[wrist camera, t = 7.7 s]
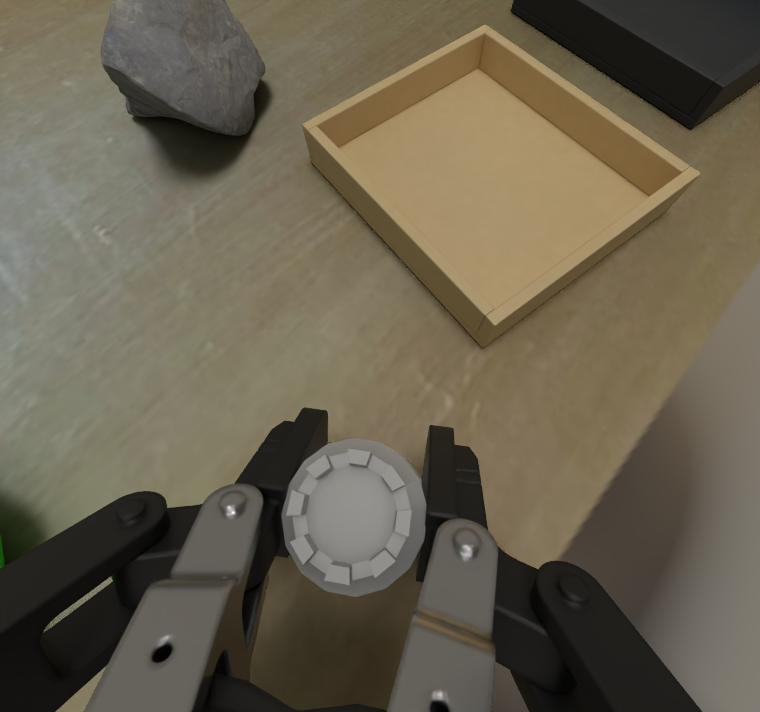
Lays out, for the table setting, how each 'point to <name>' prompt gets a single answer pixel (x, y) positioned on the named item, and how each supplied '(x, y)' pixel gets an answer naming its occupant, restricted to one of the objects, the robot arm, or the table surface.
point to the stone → (183, 62)
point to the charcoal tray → (661, 47)
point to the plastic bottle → (1, 555)
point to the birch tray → (492, 176)
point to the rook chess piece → (354, 517)
